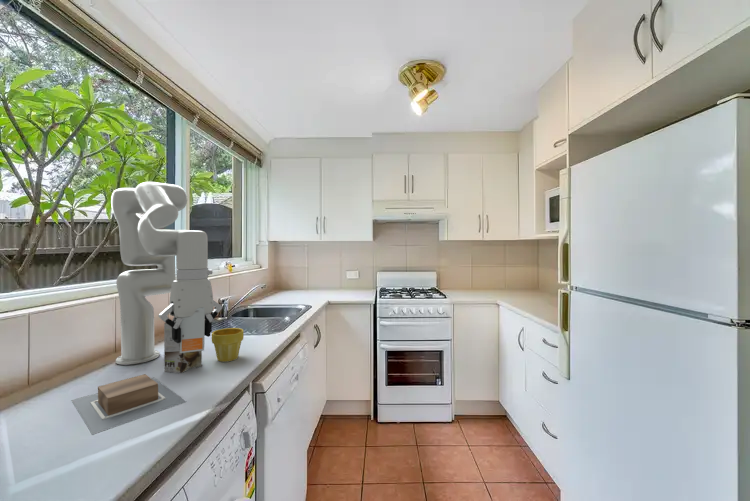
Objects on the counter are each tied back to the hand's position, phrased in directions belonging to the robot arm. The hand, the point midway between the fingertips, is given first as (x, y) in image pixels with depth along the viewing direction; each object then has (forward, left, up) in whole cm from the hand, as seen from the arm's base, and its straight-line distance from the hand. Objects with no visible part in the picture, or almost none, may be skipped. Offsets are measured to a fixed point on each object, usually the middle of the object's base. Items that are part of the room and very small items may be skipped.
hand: (192, 338), depth 90 cm
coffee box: (-17, +4, -14) cm, 23 cm away
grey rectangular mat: (-3, -14, -14) cm, 20 cm away
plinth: (-3, -14, -13) cm, 20 cm away
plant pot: (-16, +18, -14) cm, 28 cm away
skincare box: (0, 0, -4) cm, 4 cm away
